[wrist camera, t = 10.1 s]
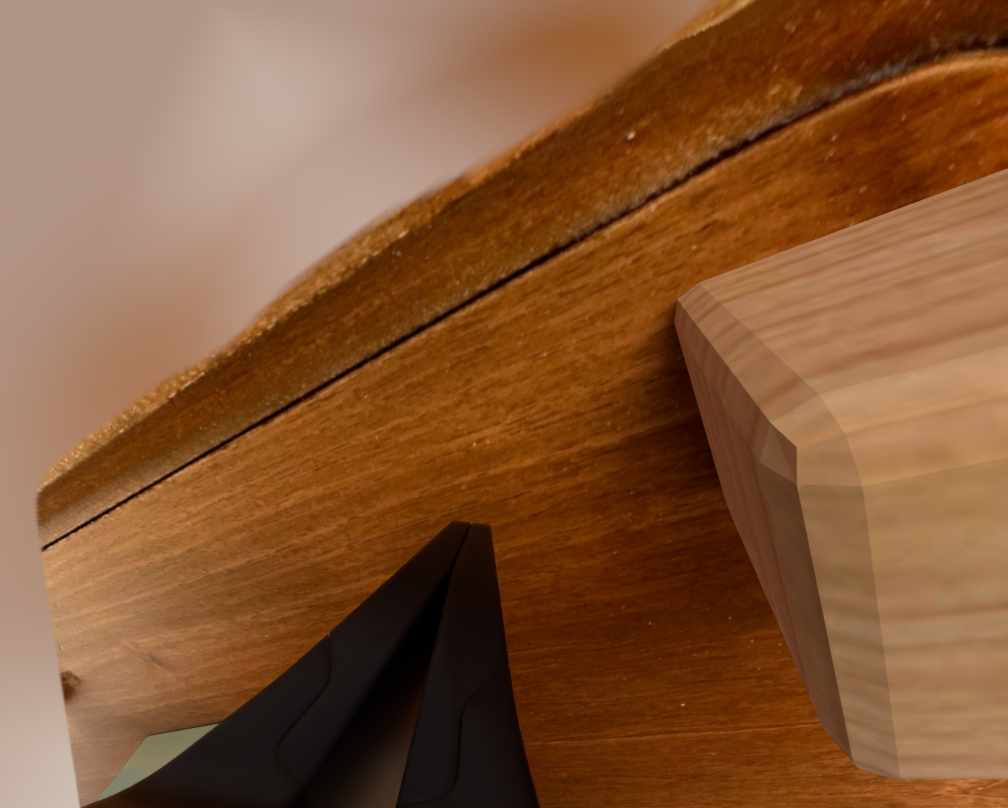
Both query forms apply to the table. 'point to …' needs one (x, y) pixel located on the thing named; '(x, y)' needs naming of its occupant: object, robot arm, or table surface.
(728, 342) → the decorative item
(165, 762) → the button base
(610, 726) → the table surface
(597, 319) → the table surface
